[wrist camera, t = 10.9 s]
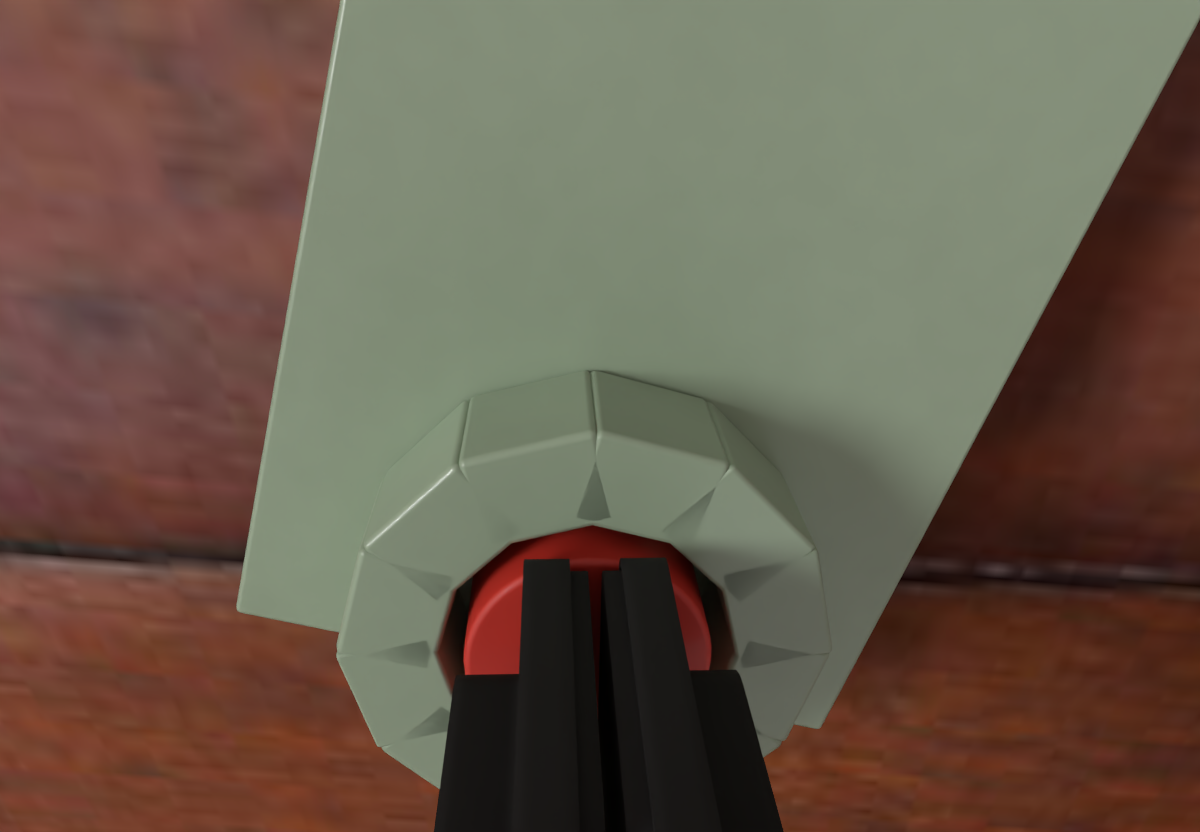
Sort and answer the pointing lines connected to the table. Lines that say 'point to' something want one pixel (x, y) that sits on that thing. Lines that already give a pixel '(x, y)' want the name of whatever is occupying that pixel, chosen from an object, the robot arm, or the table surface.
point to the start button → (594, 551)
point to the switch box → (669, 306)
